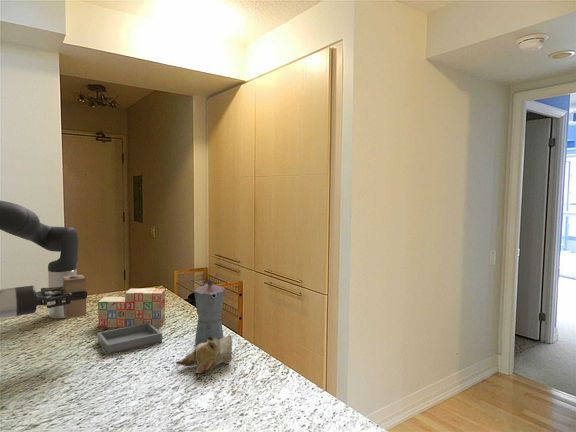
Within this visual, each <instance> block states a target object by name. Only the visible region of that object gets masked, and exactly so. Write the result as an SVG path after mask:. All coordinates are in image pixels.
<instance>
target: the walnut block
mask: <svg viewBox="0 0 576 432" xmlns="http://www.w3.org/2000/svg"><path fill="white" fill-rule="evenodd" d="M79 291H87V278H86V277H85V276H84V275H83V274H77V275H75V276H66V277H63V293H69V292H71V293H72V292H79ZM63 299H64V300H66V298H63ZM63 309H64V316H65V317H66V318H65V319H66V320H68V319H69V320H70V319H73V318H74V319H75V318H80V317H86V316H87V298H86V299H81V300H74V301H73V300H72V302H71V304H67V305H63Z"/></svg>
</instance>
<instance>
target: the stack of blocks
mask: <svg viewBox="0 0 576 432" xmlns="http://www.w3.org/2000/svg"><path fill="white" fill-rule="evenodd" d="M97 310H98V312H97V314H98V317H97V319H98V321H97V322H98V323H97V324H98V328H124V327H129V326H134V325H139V324H144V323H150V324H151V325H152V326H154V327H155V328H162V326H163V325H164V323H165V321H166V318H165V317H166V313H165V312H166V288H155V287H154V288H153V287H152V288H151V287H150V288H149V287H148V288H129V289H128V290H127V291H126V292H125V293H124V296H104V297H102V298H101V299H100V300H99V301H97Z"/></svg>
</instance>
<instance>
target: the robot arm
mask: <svg viewBox="0 0 576 432" xmlns="http://www.w3.org/2000/svg"><path fill="white" fill-rule="evenodd" d="M0 231H3V232H5V233H7V234H10V235H12V236H15V237H18V238H21V239H22V240H23V239H24V240H27V241H29V242H32V243H34V244H36V245H37V246H39V247H41V248H43V249H44V250H45V251H46V250H47V251H50V252H53V253H54V252H57V253H59V254H60V255H59V257H58V259H56V260H52V261H51V262H50V261H49V263H48V265H47V277H48V278H47V279H48V287H42V288H40V291H36V287H35V285H26V286H17V287H8V288H3V289H2V288H1V289H0V319H5V318H13V317H19V316H25V315H31V314H33V315H34V314H35V313H36V311H37V307H38V306H39V307H40V306H43V307H46V308H47V309H48V317H49V318H51V319H66V317H65V316H64V309H63V305H67V304H71V302H72V300H73V301H74V300H81V299H86V300H87V299H88V291H87V290H86V291H79V292H72V293H71V292H69V293H63V277H66V276H75V275H78V273H77V272H78V271H77V267H78V266H77V265H78V262H79V244H80V243H79V242H80V241H79V239H80V237H79V233H78V231H77V229H76V228H74V227H71V226H70V227H69V226H50V225H48V224H44V223H42V222H41V220H40V218H39V216H38V215H37V214H36V213H35V212H34V211H32V210H31V209H29V208H26V207H25V206H22V205H20V204H18V203H15V202H10V201H5V200H0ZM63 298H66V300H64V299H63Z"/></svg>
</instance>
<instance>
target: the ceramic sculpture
mask: <svg viewBox="0 0 576 432" xmlns="http://www.w3.org/2000/svg"><path fill="white" fill-rule="evenodd" d="M232 339H233V338H232V335H231V334H228V335H227V336H224V337H223V338H221V339H220V340H218V339H216V338H213V337H208V339H207V341H205V342H201V343H200V344H198V345H196V346H195V348H194V349H193V351H192V352H191V353H189V354H188V355H186V356H185V358H183V359H182V360H178V361H176V362H175V364H176V365H180V366H184V367H191V366H194V365H195V366H196V371H195V373H194V376H204V375H207V374H208V373H210V372H211V371H212V370H213V369H214V368H215V367H217V366H218V365H220V364H222V363H225V364H229V363H230V362H231V361H232V358H233V354H232V352H233V351H232V348H233V340H232Z"/></svg>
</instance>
